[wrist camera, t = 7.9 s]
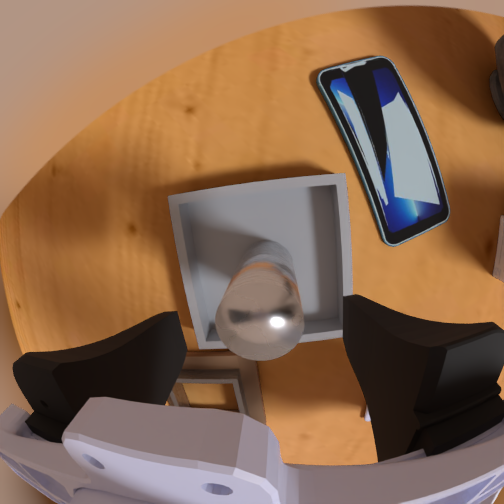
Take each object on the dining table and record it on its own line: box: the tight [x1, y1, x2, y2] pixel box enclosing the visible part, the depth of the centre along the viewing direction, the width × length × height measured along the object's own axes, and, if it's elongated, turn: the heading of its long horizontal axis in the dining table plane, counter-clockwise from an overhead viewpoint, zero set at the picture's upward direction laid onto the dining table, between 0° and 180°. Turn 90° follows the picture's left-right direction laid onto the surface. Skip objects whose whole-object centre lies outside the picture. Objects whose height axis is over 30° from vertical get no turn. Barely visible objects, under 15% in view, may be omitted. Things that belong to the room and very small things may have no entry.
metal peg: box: [215, 240, 304, 361], centre depth 16 cm, size 4×4×9 cm
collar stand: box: [168, 351, 266, 425], centre depth 24 cm, size 10×10×2 cm
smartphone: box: [316, 56, 450, 247], centre depth 18 cm, size 7×1×15 cm
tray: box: [168, 173, 353, 349], centre depth 20 cm, size 12×12×3 cm
